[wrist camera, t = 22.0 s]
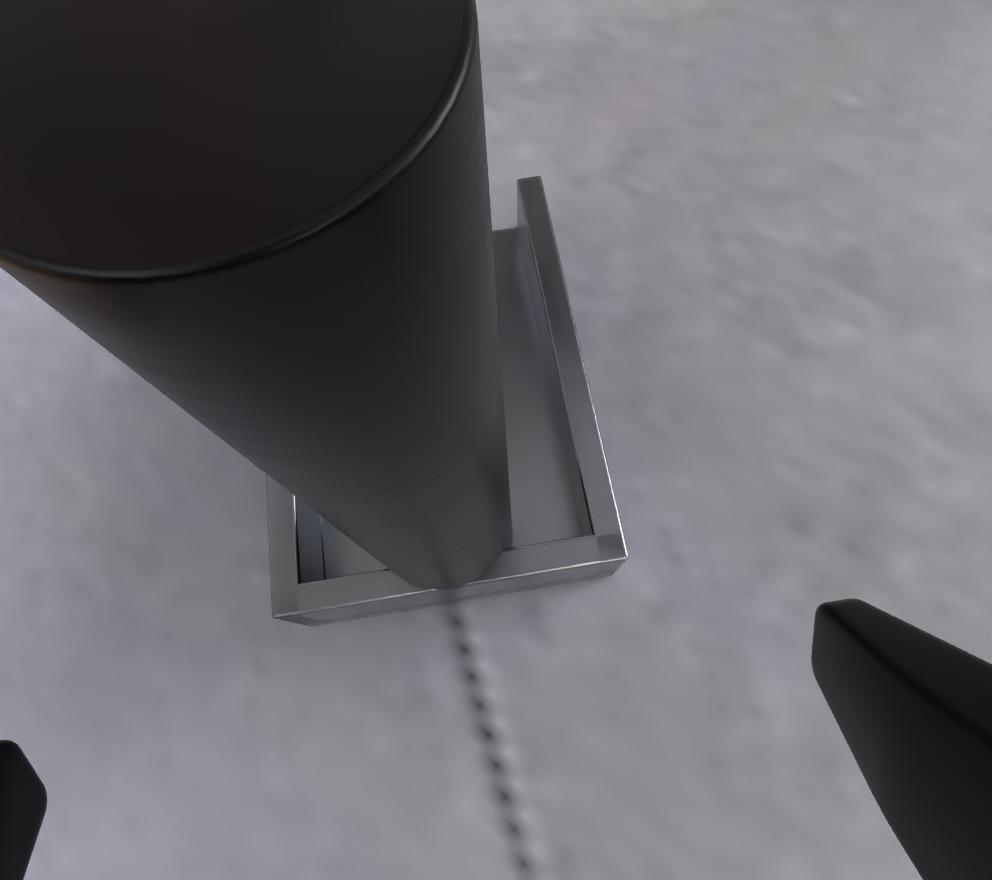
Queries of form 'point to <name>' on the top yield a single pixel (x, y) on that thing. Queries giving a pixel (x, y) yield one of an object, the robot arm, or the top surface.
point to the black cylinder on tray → (316, 281)
